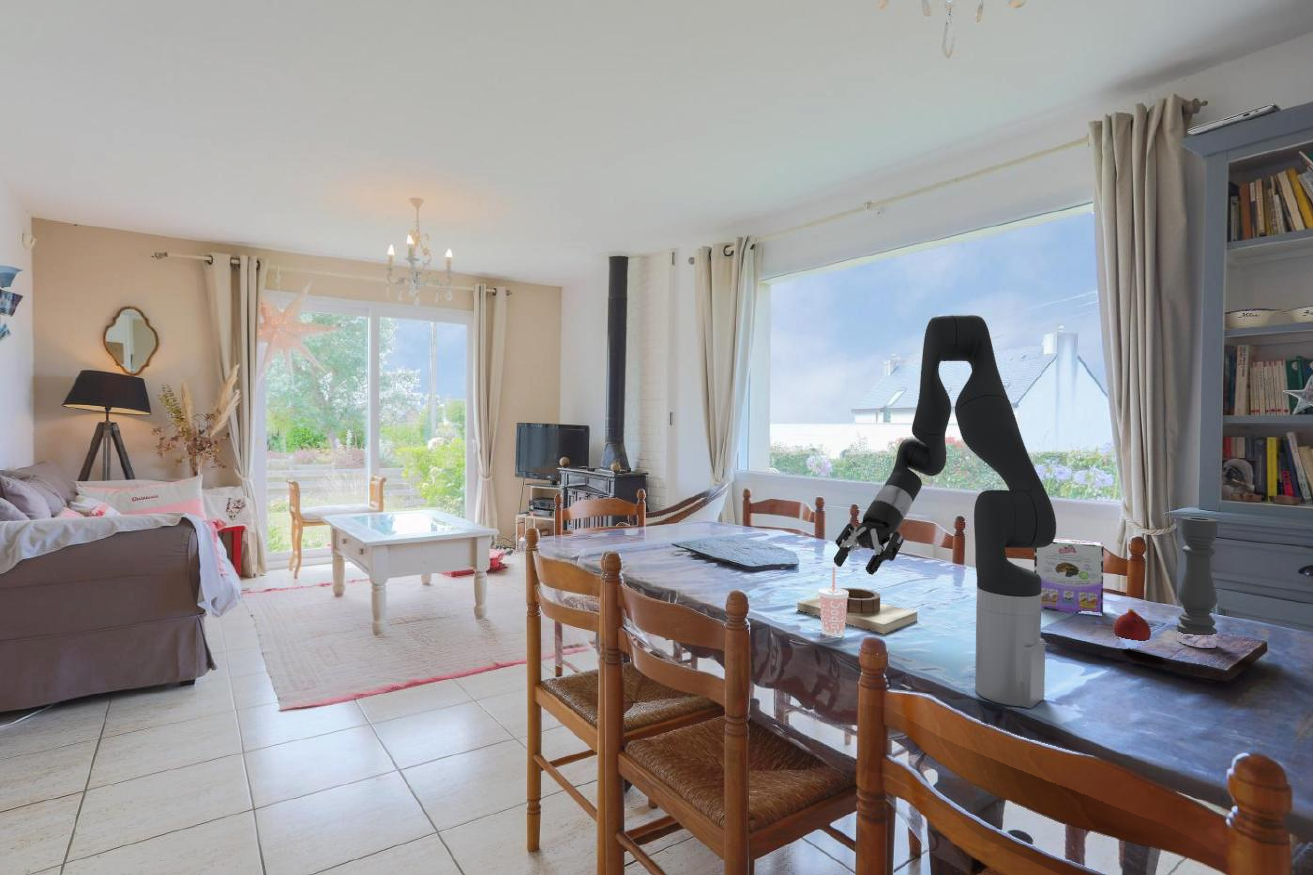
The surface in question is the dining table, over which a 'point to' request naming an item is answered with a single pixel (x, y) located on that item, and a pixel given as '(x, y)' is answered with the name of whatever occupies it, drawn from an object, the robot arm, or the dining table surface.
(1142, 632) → the onion
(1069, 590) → the candy box
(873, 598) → the cup stand
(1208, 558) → the candle holder
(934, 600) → the dining table surface
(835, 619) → the beverage cup
